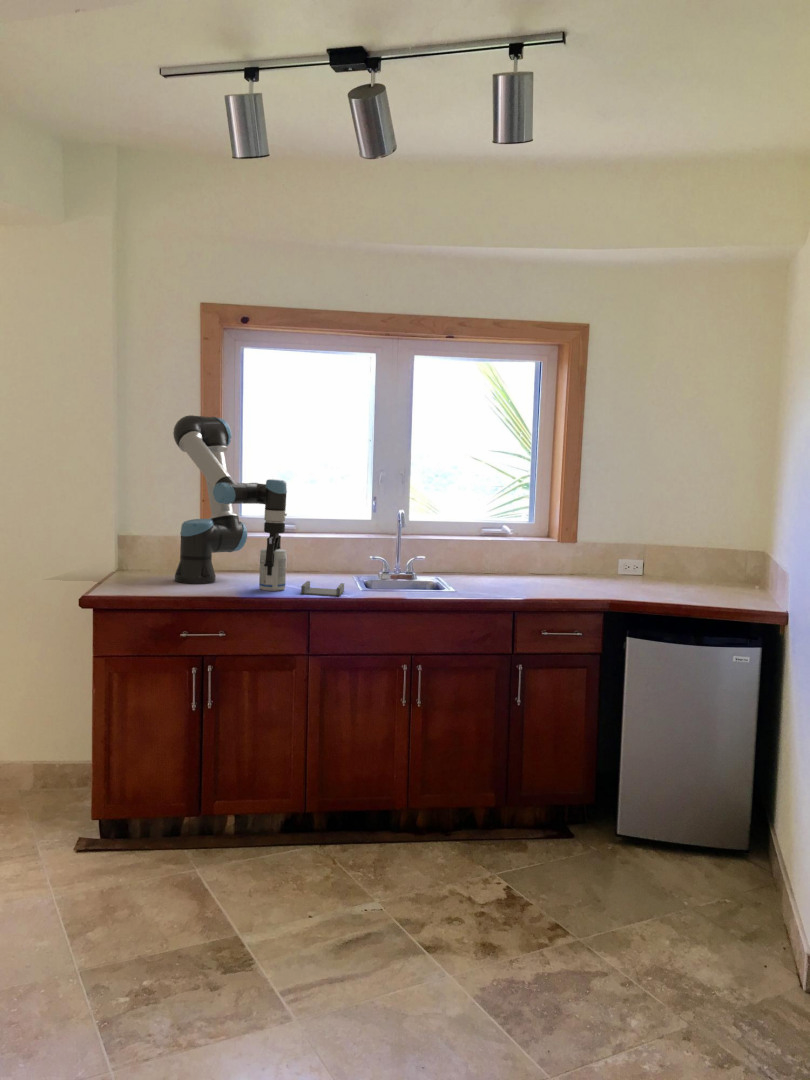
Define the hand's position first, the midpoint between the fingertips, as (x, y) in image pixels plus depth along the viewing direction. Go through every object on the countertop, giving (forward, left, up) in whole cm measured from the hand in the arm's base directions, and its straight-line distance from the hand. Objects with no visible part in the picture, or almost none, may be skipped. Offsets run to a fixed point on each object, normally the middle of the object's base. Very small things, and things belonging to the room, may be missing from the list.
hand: (272, 582), depth 332 cm
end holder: (+19, 0, -3) cm, 19 cm away
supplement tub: (0, 0, -3) cm, 3 cm away
